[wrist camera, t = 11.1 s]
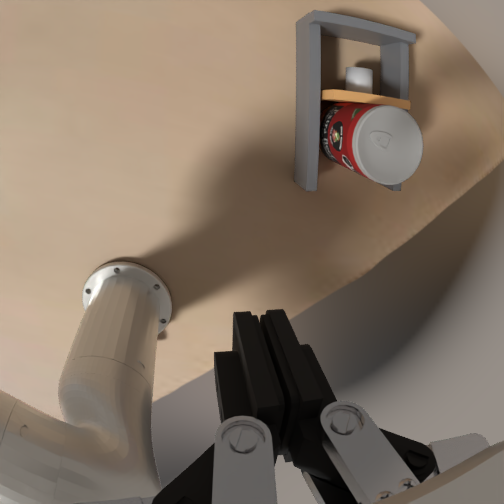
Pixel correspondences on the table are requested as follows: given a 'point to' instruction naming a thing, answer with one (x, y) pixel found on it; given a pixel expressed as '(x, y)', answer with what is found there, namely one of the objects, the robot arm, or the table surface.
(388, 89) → the frame
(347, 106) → the canned food
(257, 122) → the table surface
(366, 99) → the pusher
